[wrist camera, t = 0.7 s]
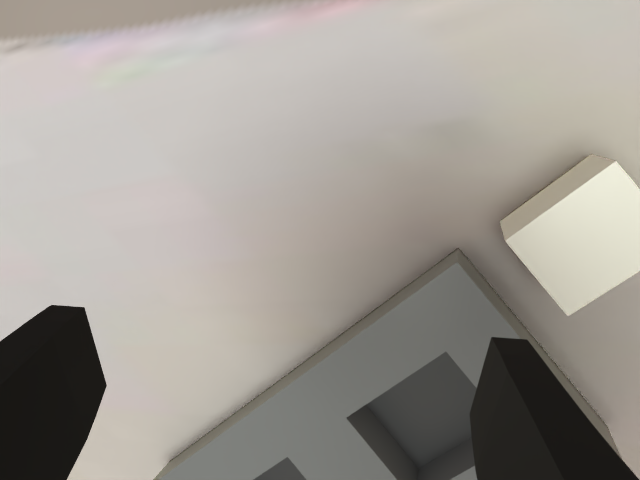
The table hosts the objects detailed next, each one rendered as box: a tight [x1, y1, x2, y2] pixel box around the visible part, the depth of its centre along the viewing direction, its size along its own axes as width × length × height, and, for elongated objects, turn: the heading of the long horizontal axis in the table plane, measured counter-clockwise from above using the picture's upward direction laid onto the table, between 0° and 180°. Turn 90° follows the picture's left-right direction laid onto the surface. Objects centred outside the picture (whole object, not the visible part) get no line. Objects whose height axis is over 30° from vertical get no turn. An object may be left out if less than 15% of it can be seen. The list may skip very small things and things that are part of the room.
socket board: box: [153, 248, 621, 480], centre depth 31 cm, size 12×24×3 cm, turn 131°
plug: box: [500, 154, 640, 316], centre depth 24 cm, size 4×5×6 cm
